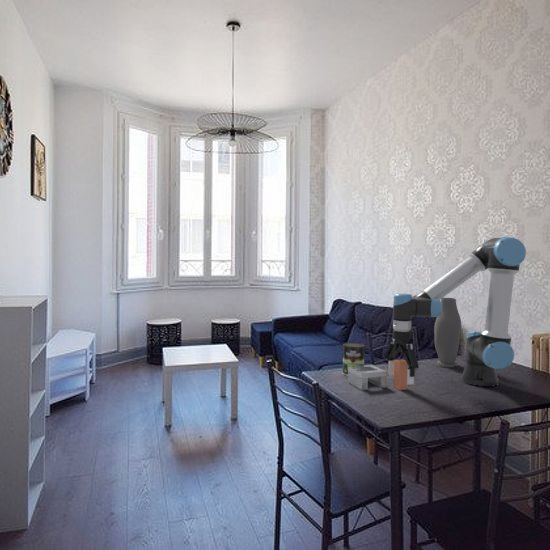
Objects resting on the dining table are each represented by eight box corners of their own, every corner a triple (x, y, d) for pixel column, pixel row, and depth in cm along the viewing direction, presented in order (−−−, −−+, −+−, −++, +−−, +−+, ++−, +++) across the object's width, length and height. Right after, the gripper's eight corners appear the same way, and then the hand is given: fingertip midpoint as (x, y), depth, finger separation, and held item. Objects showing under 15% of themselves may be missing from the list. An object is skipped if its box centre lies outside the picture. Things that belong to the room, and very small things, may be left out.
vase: (442, 360, 238) (443, 296, 236) (465, 365, 228) (467, 298, 226) (429, 365, 229) (430, 298, 227) (452, 370, 219) (454, 300, 217)
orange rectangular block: (401, 386, 191) (402, 359, 190) (407, 389, 187) (407, 361, 186) (393, 387, 189) (394, 359, 189) (399, 390, 186) (399, 362, 185)
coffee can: (363, 377, 204) (364, 347, 203) (341, 376, 206) (342, 346, 205) (364, 372, 214) (365, 343, 213) (343, 370, 216) (343, 342, 215)
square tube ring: (371, 379, 201) (371, 364, 200) (386, 387, 189) (386, 371, 189) (347, 382, 197) (348, 366, 196) (361, 389, 185) (362, 373, 185)
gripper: (377, 325, 197) (376, 372, 198) (412, 335, 174) (411, 388, 175) (392, 325, 200) (391, 371, 201) (428, 334, 176) (427, 387, 177)
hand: (400, 379), depth 188 cm, fingers open, 13 cm apart
